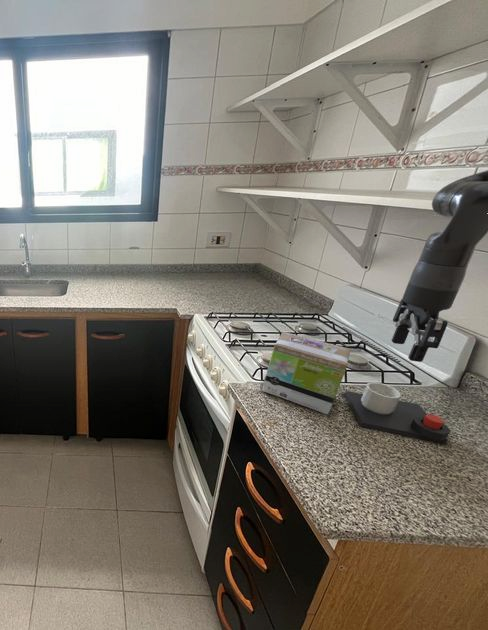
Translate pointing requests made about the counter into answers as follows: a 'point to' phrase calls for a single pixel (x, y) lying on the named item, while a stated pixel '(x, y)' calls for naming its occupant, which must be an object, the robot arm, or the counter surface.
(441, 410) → the counter surface
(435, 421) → the button
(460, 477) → the counter surface
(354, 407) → the scale
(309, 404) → the tea box
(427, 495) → the counter surface
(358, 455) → the counter surface
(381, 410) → the white cup
